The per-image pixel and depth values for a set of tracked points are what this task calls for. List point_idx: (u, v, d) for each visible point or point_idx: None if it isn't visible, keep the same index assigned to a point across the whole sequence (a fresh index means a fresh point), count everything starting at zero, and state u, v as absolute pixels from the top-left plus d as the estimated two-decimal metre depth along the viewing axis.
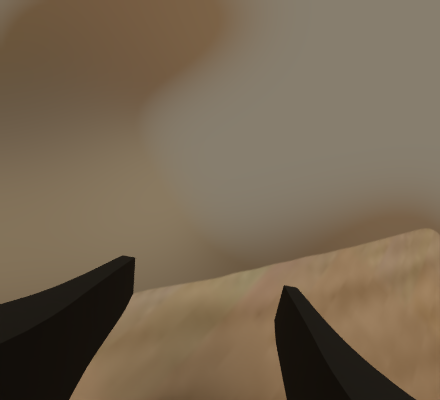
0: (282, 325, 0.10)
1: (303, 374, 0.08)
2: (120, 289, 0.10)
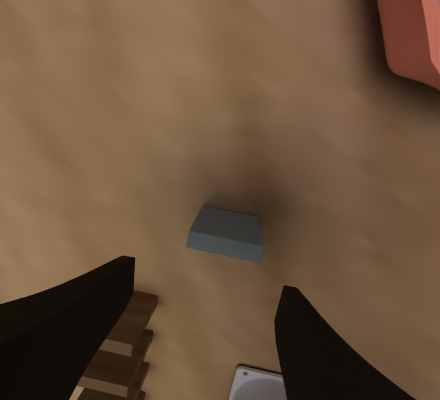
0: (282, 325, 0.10)
1: (303, 374, 0.08)
2: (120, 289, 0.10)
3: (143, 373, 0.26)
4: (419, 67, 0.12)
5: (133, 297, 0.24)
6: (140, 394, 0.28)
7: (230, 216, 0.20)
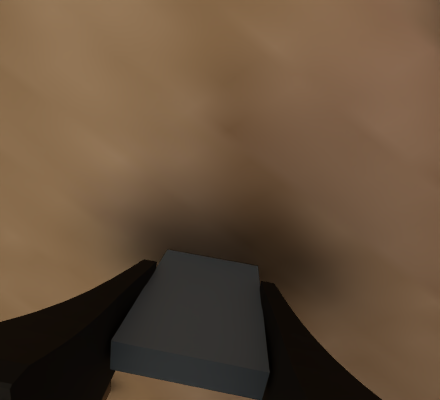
0: None
1: (271, 367, 0.08)
2: None
3: None
4: None
5: None
6: None
7: (209, 273, 0.12)
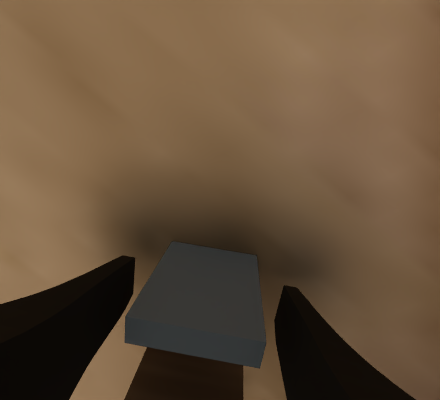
0: (282, 324, 0.10)
1: (303, 374, 0.08)
2: (120, 289, 0.10)
3: None
4: None
5: None
6: None
7: (212, 261, 0.13)
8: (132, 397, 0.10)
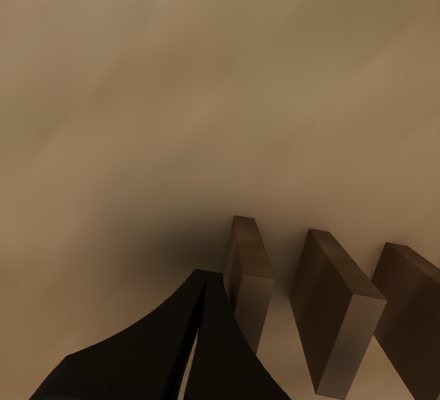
0: (201, 309, 0.10)
1: None
2: (201, 304, 0.10)
3: None
4: None
5: None
6: None
7: None
8: None
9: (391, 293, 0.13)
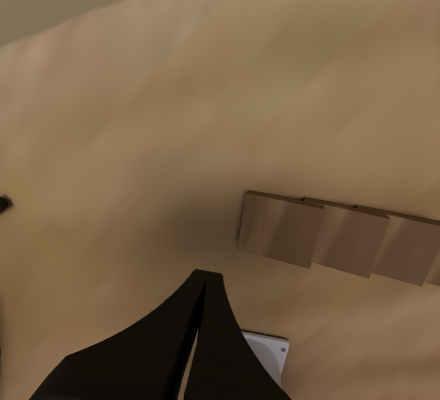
0: (201, 309, 0.10)
1: None
2: (201, 304, 0.10)
3: None
4: None
5: None
6: None
7: None
8: None
9: None
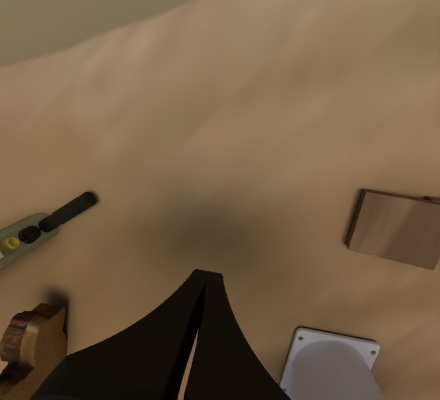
0: (201, 309, 0.10)
1: None
2: (201, 304, 0.10)
3: None
4: None
5: None
6: None
7: None
8: None
9: None
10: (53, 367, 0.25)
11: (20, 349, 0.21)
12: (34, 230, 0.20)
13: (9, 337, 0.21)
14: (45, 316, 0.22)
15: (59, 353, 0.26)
